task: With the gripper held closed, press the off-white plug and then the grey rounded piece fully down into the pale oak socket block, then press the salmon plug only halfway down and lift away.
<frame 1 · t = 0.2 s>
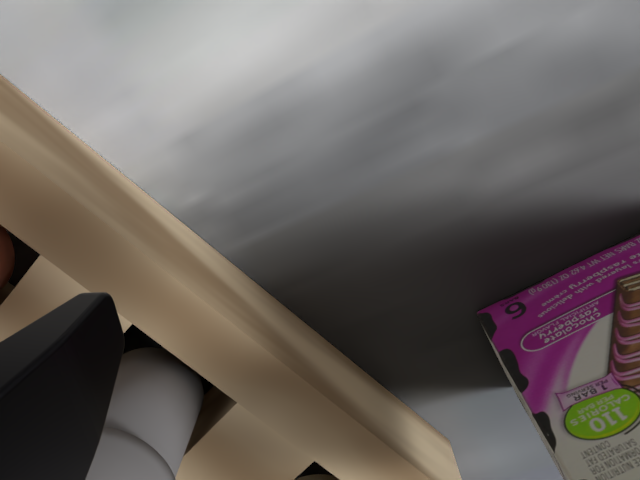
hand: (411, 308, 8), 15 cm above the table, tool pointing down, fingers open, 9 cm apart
socket block: (177, 348, 25), on the table
grey rounded piece: (128, 439, 19), point 7 cm above the table, slide at 0.0 cm
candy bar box: (601, 293, 24), on the table
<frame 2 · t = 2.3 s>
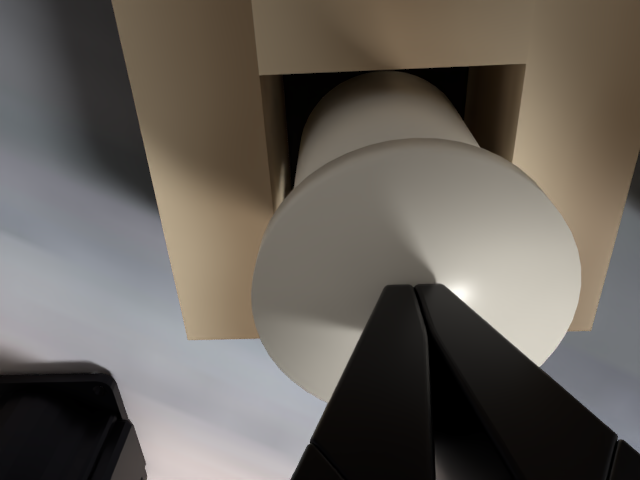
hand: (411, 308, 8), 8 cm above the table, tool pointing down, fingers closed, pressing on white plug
white plug: (393, 212, 11), point 5 cm above the table, slide at 1.0 cm, touching gripper
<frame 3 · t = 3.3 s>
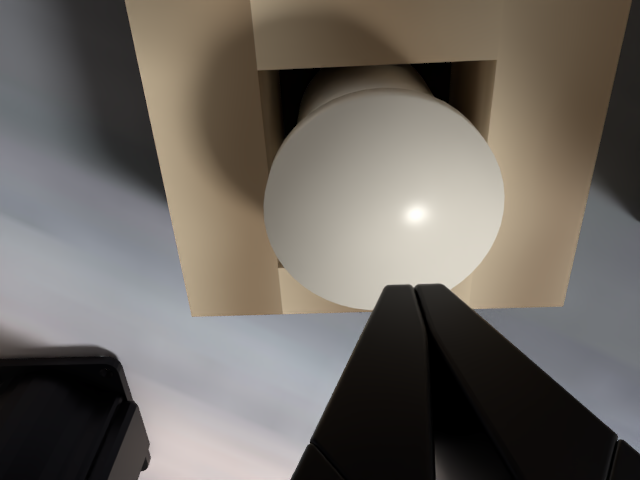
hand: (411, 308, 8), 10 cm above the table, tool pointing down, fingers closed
white plug: (372, 158, 13), point 3 cm above the table, slide at 3.0 cm
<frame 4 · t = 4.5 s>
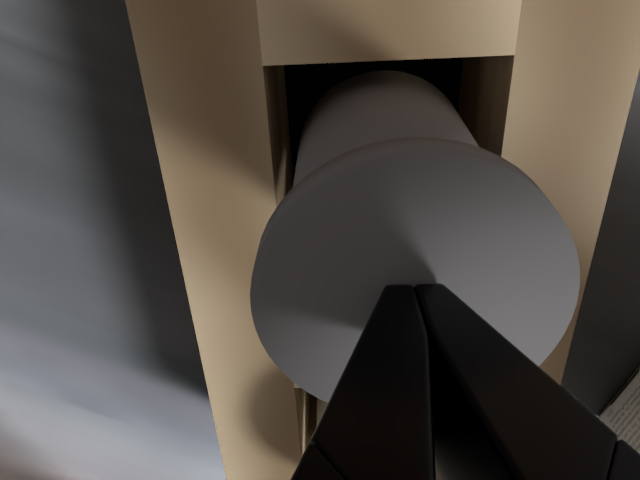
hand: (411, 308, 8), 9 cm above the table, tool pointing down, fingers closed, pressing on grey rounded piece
socket block: (372, 113, 16), on the table
grey rounded piece: (392, 211, 11), point 6 cm above the table, slide at 0.3 cm, touching gripper
white plug: (378, 418, 18), point 3 cm above the table, slide at 3.0 cm
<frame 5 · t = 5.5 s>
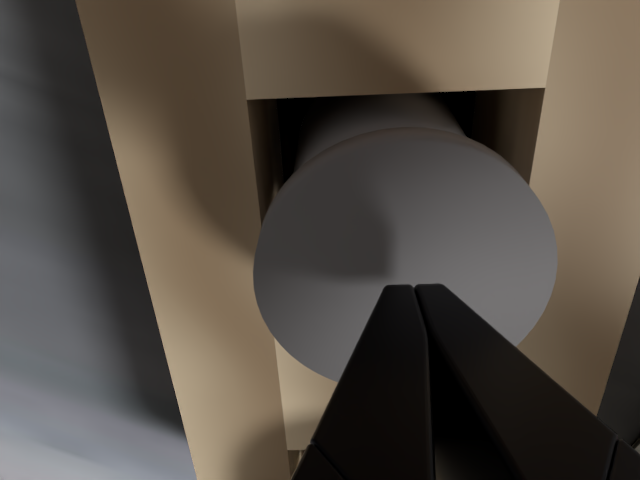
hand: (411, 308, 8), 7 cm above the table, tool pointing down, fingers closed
socket block: (375, 140, 14), on the table
grey rounded piece: (386, 200, 11), point 3 cm above the table, slide at 3.0 cm
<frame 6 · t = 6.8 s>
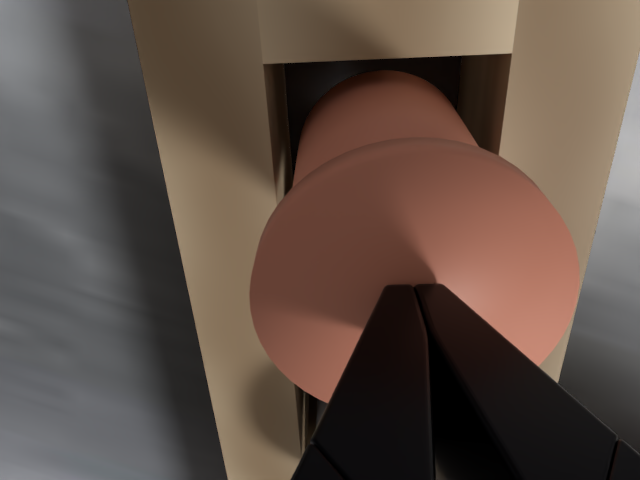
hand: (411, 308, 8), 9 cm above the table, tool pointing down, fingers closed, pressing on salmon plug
socket block: (371, 342, 21), on the table
grey rounded piece: (377, 415, 18), point 3 cm above the table, slide at 3.0 cm
salmon plug: (392, 211, 11), point 6 cm above the table, slide at 0.1 cm, touching gripper
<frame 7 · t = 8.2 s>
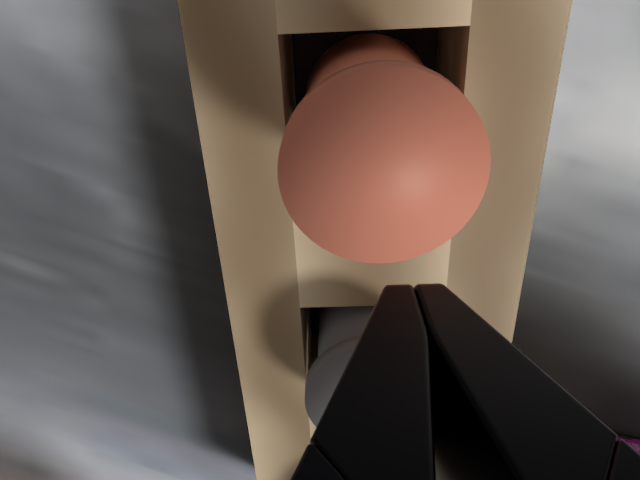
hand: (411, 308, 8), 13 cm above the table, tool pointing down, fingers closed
socket block: (365, 288, 24), on the table
grey rounded piece: (370, 341, 21), point 3 cm above the table, slide at 3.0 cm
salmon plug: (374, 130, 15), point 5 cm above the table, slide at 1.4 cm
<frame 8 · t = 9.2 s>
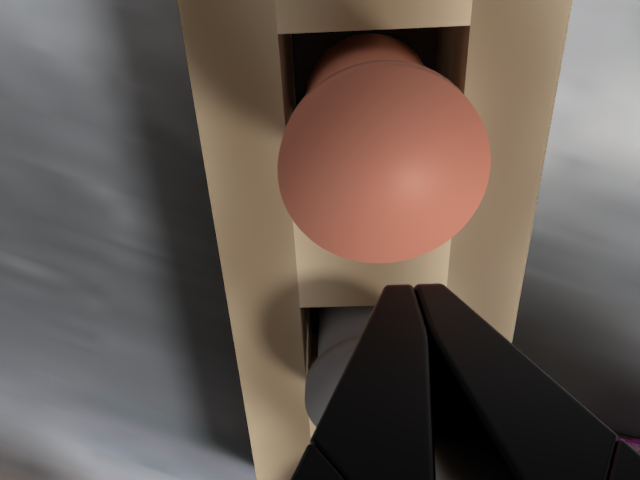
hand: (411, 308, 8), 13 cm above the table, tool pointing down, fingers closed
socket block: (365, 288, 24), on the table
grey rounded piece: (370, 341, 21), point 3 cm above the table, slide at 3.0 cm
salmon plug: (374, 130, 15), point 5 cm above the table, slide at 1.4 cm
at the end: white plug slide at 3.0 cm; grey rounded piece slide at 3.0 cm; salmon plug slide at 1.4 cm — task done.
